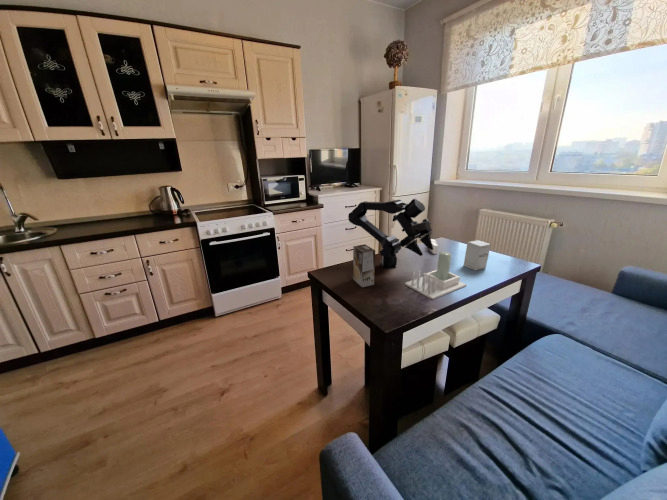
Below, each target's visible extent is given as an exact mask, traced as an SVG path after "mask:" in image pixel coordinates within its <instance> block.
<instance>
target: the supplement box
mask: <svg viewBox="0 0 667 500" xmlns="http://www.w3.org/2000/svg"><path fill="white" fill-rule="evenodd" d="M490 248H491V243H488V242H486V241H482V240H478V239H477V240H471V241H468V242H467V243H466V250H465V255H464V259H463V261H464V262H463V266H464V267H467V268H469V269H471V270H473V271H478V270H483V269H486V268H487V263H488V260H489V253H490Z"/></svg>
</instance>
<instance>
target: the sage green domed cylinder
mask: <svg viewBox="0 0 667 500" xmlns="http://www.w3.org/2000/svg"><path fill="white" fill-rule="evenodd" d="M451 260H452V253H451V252H449V251H439V252H438V261H437V268H436V270H437V274H436V277H437V278H439V279H441V280H443V281H445V280H448V275H449V272H450V267H451Z"/></svg>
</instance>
